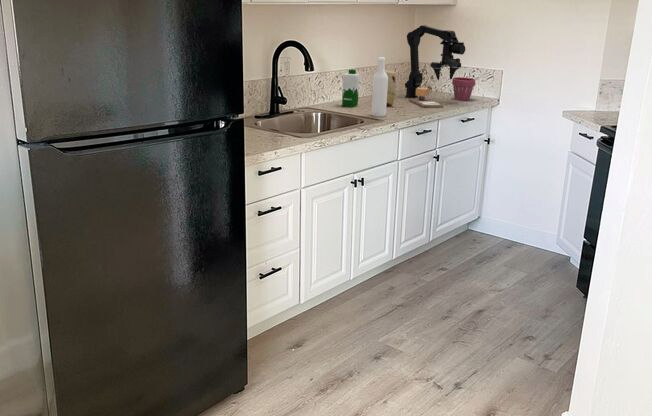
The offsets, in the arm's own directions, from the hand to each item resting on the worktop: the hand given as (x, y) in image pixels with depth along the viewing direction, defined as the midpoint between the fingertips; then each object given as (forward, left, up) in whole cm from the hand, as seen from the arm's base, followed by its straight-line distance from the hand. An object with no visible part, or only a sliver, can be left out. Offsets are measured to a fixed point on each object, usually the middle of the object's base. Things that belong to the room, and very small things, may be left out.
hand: (444, 79), depth 373 cm
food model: (-21, -32, -14) cm, 41 cm away
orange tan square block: (-10, -9, -9) cm, 16 cm away
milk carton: (-37, -47, -14) cm, 62 cm away
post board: (-5, -13, -14) cm, 20 cm away
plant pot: (+6, +19, -14) cm, 24 cm away
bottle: (-11, -62, -14) cm, 65 cm away
